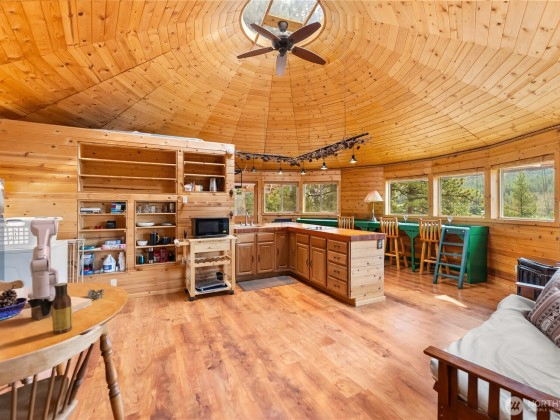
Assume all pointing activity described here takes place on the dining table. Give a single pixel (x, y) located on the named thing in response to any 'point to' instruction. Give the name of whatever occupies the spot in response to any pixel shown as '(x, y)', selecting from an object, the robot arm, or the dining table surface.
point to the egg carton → (95, 294)
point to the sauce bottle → (61, 310)
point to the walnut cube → (39, 313)
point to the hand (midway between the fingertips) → (41, 314)
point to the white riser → (79, 303)
